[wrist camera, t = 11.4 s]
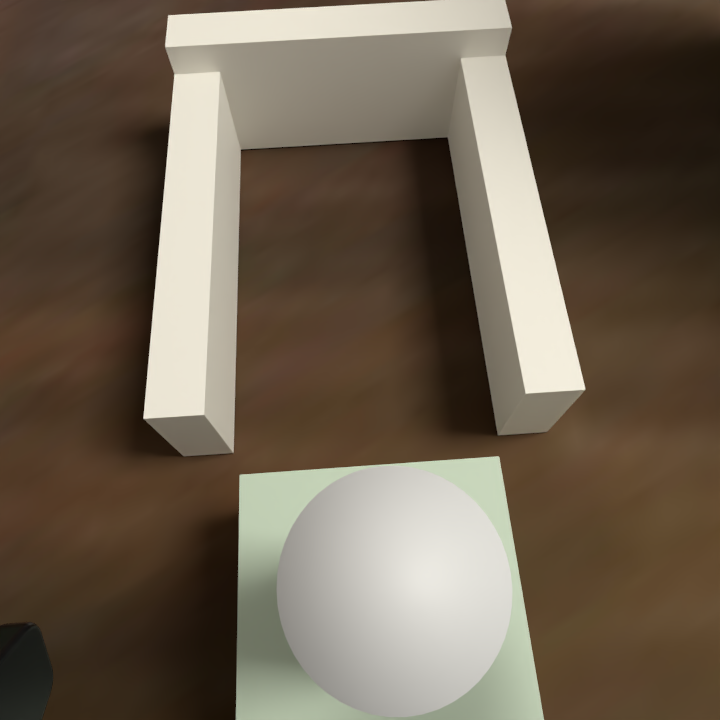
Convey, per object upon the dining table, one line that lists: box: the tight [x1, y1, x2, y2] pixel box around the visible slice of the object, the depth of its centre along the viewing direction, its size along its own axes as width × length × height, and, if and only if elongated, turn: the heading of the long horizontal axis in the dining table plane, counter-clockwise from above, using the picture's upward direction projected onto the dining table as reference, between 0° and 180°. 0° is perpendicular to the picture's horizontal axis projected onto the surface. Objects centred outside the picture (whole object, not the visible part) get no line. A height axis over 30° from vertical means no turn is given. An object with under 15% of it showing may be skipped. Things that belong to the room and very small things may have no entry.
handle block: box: [236, 456, 544, 720], centre depth 11 cm, size 6×6×11 cm
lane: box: [143, 0, 585, 456], centre depth 19 cm, size 14×11×4 cm
